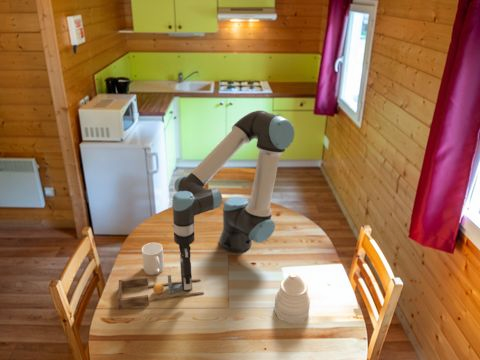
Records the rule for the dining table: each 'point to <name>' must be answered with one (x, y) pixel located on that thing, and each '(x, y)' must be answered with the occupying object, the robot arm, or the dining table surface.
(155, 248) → the mug
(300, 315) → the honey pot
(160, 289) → the ball
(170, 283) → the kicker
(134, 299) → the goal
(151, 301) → the lane
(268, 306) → the dining table surface
